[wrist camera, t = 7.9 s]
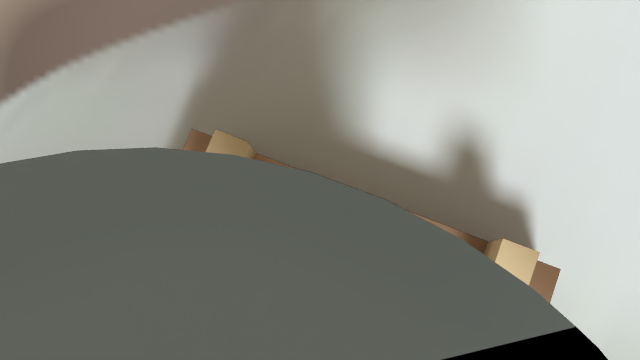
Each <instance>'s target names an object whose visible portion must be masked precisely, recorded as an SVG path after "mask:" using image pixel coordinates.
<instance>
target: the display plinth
mask: <svg viewBox="0 0 640 360" xmlns="http://www.w3.org/2000/svg"><path fill="white" fill-rule="evenodd" d="M183 150H187V151H198V152H209V153H220V154H231V155H237V156H241V157H246V158H250V159H255V160H259V161H263V162H268V163H272V164H277V165H281V166H286V167H290V168H293V167H291V166H288V165H286V164H283V163H280V162H278V161H275V160H272V159H270V158H267V157H265V156H262V155H259V154H257V153H256V152H255V150H254V149H253V148H252V146H251V145H250V143H249V142H248V141H245V140H242V139H240V138H237V137H234V136H232V135H229V134H226V133H224V132H221V131H219V130H216V129H215V131H214V134H213V136H209V135H207V134H204V133H202V132H199V131H196V130H194V129H192V130H191V132H190V135H189V137H188V139H187V141H186V144H185V146H184V148H183ZM295 169H296V168H295ZM411 213H412V212H411ZM413 214H414V213H413ZM415 215H416V216H418V217H420V218H422V219H424V220H426V221H428V222H430V223H432V224H434V225H436V226H438V227H440V228H441V229H443V230H445V231H447V232H449V233H451V234H453V235H455V236H457V237H459V238H461V239H462V240H464V241H465V242H467V243H468V244H469V245H471V246H472V247H474V248H475V249H477V250H478V251H480V252H481V253H482V254H484V255H485V256H487V257H488V258H490V259H491V260H493V261H494V262H495V263H497V264H498V265H500V266H501V267H503V268H504V269H506V270H507V271H508V272H510V273H511V274H513V275H514V276H516V277H517V278H519V279H520V280H521V281H523V282H524V283H526V284H527V285H529V286H530V287H532V288H533V289H534V290H535V291H536V292H537V293H539V294H540V295H541V296H542V297H543V298H544V299H545V300H546V301H548V302H549V303H550V301H551V298H552V295H553V291H554V288H555V285H556V282H557V279H558V276H559V273H560V270H561V269H559V268H556V267H553V266H551V265H548V264H546V263H543V262H540V261H538V260H537V259H538V256H539V253H540V252H538V251H535V250H532V249H530V248H527V247H524V246H522V245H519V244H517V243H514V242H511V241H509V240H506V239H498V240H493V241H489V242H488V241H485V240H483V239H480V238H477V237H475V236H472V235H469V234H467V233H464V232H461V231H459V230H456V229H454V228H451V227H448V226H446V225H443V224H440V223H438V222H435V221H433V220H430V219H427V218H425V217H422V216H419V215H417V214H415Z"/></svg>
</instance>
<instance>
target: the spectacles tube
mask: <svg viewBox="0 0 640 360" xmlns="http://www.w3.org/2000/svg"><path fill="white" fill-rule="evenodd" d="M0 360H608V359H607V358H606V357H605V356H604V354H603V353H602V352H601V351H600V349H599V348H598V347H597V346H596V345H595V344H594V343H592V342H591V341H590V340H589V339H588V338H587V337H586V336H585V335H584V334H583V333H582V332H581V331H580V330H579V329H578V328H577V327H576V326H574V325H573V324H572V323H571V322H570V321H569V320H568V319H567V318H565V317H564V316H563V315H562V314H561V313H560V312H559V311H558V310H556V309H555V308H554V307H553V306H552V305H551V304H550V303H549V302H548V301H546V300H545V299H544V298H543V297H542V296H541V295H540V294H539V293H537V292H536V291H535V290H534V289H533V288H532V287H530V286H529V285H527V284H526V283H524V282H523V281H521V280H520V279H519V278H517V277H516V276H514V275H513V274H511V273H510V272H508V271H507V270H506V269H504V268H503V267H501V266H500V265H498V264H497V263H495V262H494V261H493V260H491V259H490V258H488V257H487V256H485V255H484V254H482V253H481V252H480V251H478V250H477V249H475V248H474V247H472V246H471V245H469V244H468V243H467V242H465V241H464V240H462V239H461V238H459V237H457V236H455V235H453V234H451V233H449V232H447V231H445V230H443V229H441V228H440V227H438V226H436V225H434V224H432V223H430V222H428V221H426V220H424V219H422V218H420V217H418V216H416V215H415V214H413V213H411V212H409V211H407V210H405V209H403V208H401V207H399V206H397V205H395V204H393V203H391V202H389V201H388V200H385V199H383V198H380V197H377V196H374V195H372V194H369V193H366V192H363V191H361V190H358V189H355V188H353V187H350V186H347V185H344V184H342V183H339V182H336V181H333V180H331V179H328V178H325V177H322V176H320V175H317V174H314V173H312V172H308V171H304V170H299V169H295V168H290V167H286V166H281V165H277V164H272V163H268V162H263V161H259V160H255V159H250V158H246V157H241V156H237V155H231V154H220V153H209V152H198V151H187V150H176V149H165V148H132V149H107V150H82V151H73V152H67V153H61V154H55V155H49V156H43V157H37V158H31V159H25V160H19V161H13V162H8V163H2V164H0Z"/></svg>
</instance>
